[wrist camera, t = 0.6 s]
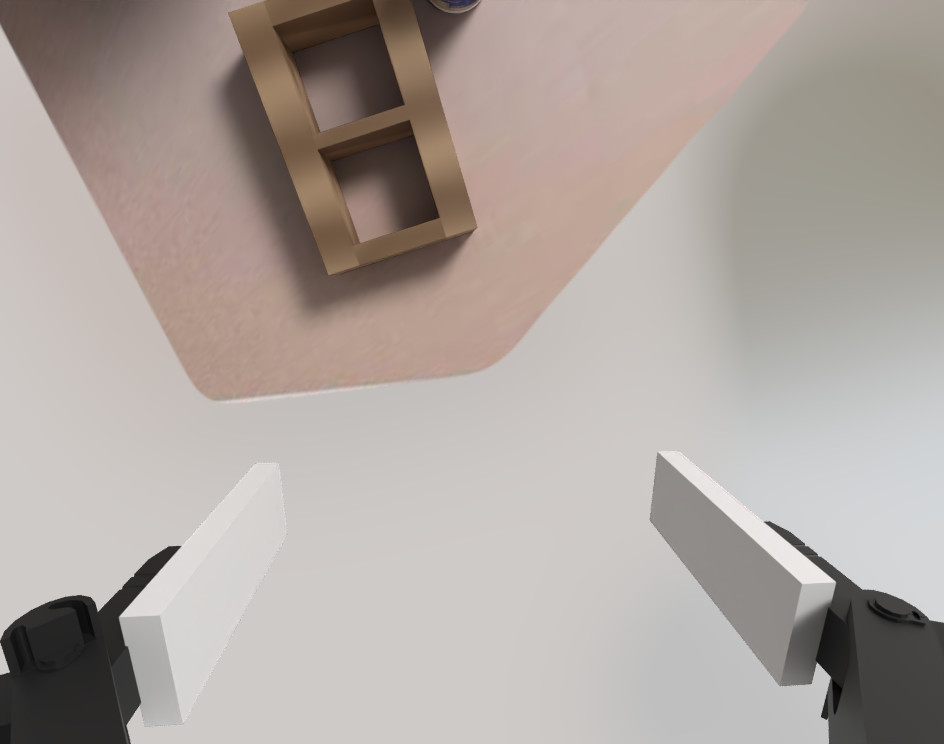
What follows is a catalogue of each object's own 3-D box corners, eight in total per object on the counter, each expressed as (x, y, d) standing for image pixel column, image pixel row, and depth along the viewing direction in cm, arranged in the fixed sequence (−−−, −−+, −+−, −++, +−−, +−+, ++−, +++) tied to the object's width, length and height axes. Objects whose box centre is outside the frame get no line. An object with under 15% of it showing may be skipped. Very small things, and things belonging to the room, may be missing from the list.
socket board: (252, 41, 34) (228, 13, 30) (403, -9, 34) (398, -44, 30) (340, 273, 38) (328, 275, 35) (473, 230, 38) (477, 227, 34)
